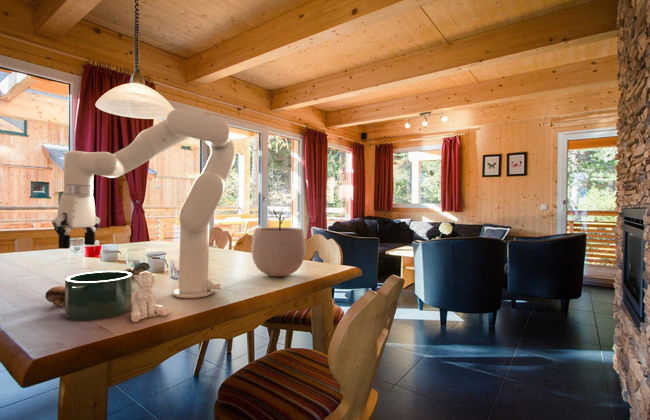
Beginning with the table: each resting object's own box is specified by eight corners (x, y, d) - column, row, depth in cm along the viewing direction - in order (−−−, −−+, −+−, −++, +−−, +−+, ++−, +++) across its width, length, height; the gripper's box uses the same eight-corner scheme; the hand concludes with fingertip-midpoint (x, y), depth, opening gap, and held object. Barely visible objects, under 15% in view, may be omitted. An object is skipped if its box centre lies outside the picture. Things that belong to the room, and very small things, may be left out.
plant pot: (314, 273, 161) (315, 208, 161) (288, 283, 139) (289, 208, 139) (270, 268, 171) (271, 207, 171) (239, 277, 149) (240, 207, 149)
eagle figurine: (146, 278, 137) (154, 270, 146) (134, 264, 136) (144, 256, 145) (129, 288, 138) (139, 279, 146) (118, 274, 136) (128, 266, 145)
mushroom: (56, 300, 98) (61, 279, 101) (34, 308, 99) (40, 288, 103) (82, 307, 104) (86, 287, 108) (61, 315, 106) (66, 295, 109)
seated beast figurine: (132, 323, 90) (133, 276, 90) (119, 315, 95) (120, 272, 95) (168, 315, 97) (169, 272, 97) (155, 308, 103) (155, 268, 102)
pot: (144, 301, 110) (145, 269, 110) (108, 324, 89) (108, 284, 89) (92, 301, 109) (93, 269, 109) (43, 324, 88) (44, 284, 88)
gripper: (89, 192, 117) (87, 243, 117) (42, 189, 100) (41, 249, 100) (109, 193, 117) (108, 244, 117) (66, 190, 99) (65, 250, 100)
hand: (77, 246), depth 109 cm, fingers open, 9 cm apart
